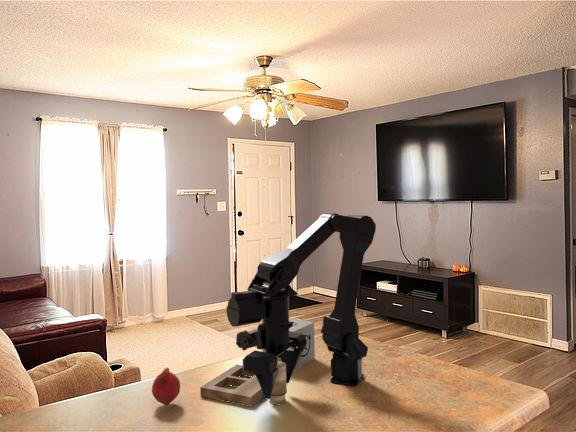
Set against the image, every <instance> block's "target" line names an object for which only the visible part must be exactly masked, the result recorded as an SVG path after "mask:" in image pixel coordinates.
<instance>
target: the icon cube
mask: <svg viewBox="0 0 576 432" xmlns="http://www.w3.org/2000/svg"><path fill="white" fill-rule="evenodd" d="M289 321H292V322H293V326H292V327H291V328H289V332H291V333H300V334H303V335H304V336H305V337H306V347H304V348H303V349H304V350H303V352H302V354H301V356H300V358H299V360H298V363H297V365H296V367H295V370H294V372H295V371H297V370H298V369H300V368H301V367H303V366H304V365H307V364H308V363H310V362H311V361H313V360H315V359H316V356H315V355H316V354H315V353H316V352H315V351H316V349H315V348H316V347H315V322H313V321H308V320H302V319H301V320H300V319H296V318H295V319H294V318H289ZM262 352H266V351H265V349H262ZM277 359H278V361H281V357H280V356H278V357H277Z"/></svg>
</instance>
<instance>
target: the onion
mask: <svg viewBox="0 0 576 432" xmlns="http://www.w3.org/2000/svg"><path fill="white" fill-rule="evenodd" d="M180 390H181V382H180V379H179V377H178V376H177V375H176V374H174V373H173V372H171V371H170V368H169V367H167V366H166V367H164V369H163V370H162V372H161V373H160V374H159V373H158V375H157V376H156V378H155V379H154V381H153V383H152V386H151V392H152V393H151V394H152V396H153V397H154V399H155V400H156V401H157V402H158V403H161V404H162V405H164V406H169V405H170V404H171V403H172V402H173V401H175V399H176V398H177V397H178V396H179V394H180V392H181V391H180Z"/></svg>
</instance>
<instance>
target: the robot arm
mask: <svg viewBox="0 0 576 432" xmlns="http://www.w3.org/2000/svg"><path fill="white" fill-rule="evenodd" d="M376 229H377V226H376V222H375V221H374V219H373V218H372V217H371V216H370V215H361V214H359V215H358V214H356V215H353V214H348V215H341V214H338V213H336V212H335V213H334V212H333V213H332V212H331V213H330V212H329V213H328V212H327V213H326V212H324V213H323V214H321V215H320V216H319V217H318V218H317V220H316V221H314V222H313V224H311V225H310V226H309V227H308V228H307V229H306V230H304V232H303V233H302V234H300V236H298V237H297V238H296V239H295V240H294V241H293V242H291V244H289V245H287V247H286V248H284V249H282V250H280V251H277V252H275V253H273V254H271V255H269V256H268V257H266V258H264V259H262V260H261V262H259V264H257V267H256V268H257V270H256V273H255V275H254V277H253V279H252V280H251V282H250V283H249V286H248V287H247V288H246V289H247V290H246V291H232V292H231V293H230V298H229V300H228V301H227V306H226V317H227V320H228V322H229V324H230V325H231V327H233V328H235V327H241V326H246V325H252V324H256V323H259V324H258V325H257V328H255V329H252V330H249V331H248V330H246V329H245V330H243V331H240V332H238V333H236V339H235V340H236V341H235V345H236V346H237V347H238V348H239V349H241V351H247V350H248V349H251V348H254V347H255V348H256V349H257V350H253V351H251V352H250V353H248V354H247V355H245V357H244V358H242V365H243V370H247V371H248V372H252V373H253V374H255V376H256V377H257V379H258V381H259V384H260V387H261V389H262V392H263V395H264V396H263V398H264V399H266V400H270V397H271V394H272V391H273V387H274V383H275V379H276V376H277V372H278V368H276V367H277V364H278V359H277V357H278V356H280V357H281V362H284V363H286V384H289V383H290V382H291V379H292V377H293V374H294V372H295V371H296V370H295V367H296V365H297V363H298V360H299V358H300V356H301V354H302V352H303V350H304V349H303V348H304V347H306V337H305V336H304V335H303V334H300V333H291V332H289V328H291V327H292V326H293V322H292V321H289V319H290V306H289V305H290V300H289V299H290V297H294V296H295V297H297V296H298V292H297V291H296V290H295V289H293V288H292V286H291V283H293V281H294V280H295V278H296V277H297V275H299V271H300V269H301V265H302V264H303V263H304V262H305V261H306V260H307V259H308V258H309V257H310V256H311V255H312V254H313V253H314V252H315V251H317V250H318V248H320V247H321V245H323V244H324V243H325V242H326V241H327V240H328V239H330V237H331V236H333V234H334V233H339V240H340V244H341V246H342V250H343V252H342V257H341V263H340V270H339V277H338V282H337V289H336V295H335V302H334V306H333V310H332V312H331V313H330V314H329V316H328V315H324V316H323V318H322V328H321V330H320V333H321V335H322V336H321V337H322V341H323V342H324V343H325V345H326V347H327V350H328V352H332V358H331V359H330V376H331V378H330V379H329V380H330V382H331V383H337V384H343V385H349V386H354V387H355V386H358V385H359V383H360V382H361V381H362V380H363V378H364V377H365V374H364V373H363V372H362V371H363V367H362V360H363V358H366V357H367V355H368V352H369V351H368V350H369V347H368V346H367V345H366V344H365V343H364V342H363V341H362V340H361V339H360V338H359V335H360V334H359V333H360V331H359V330H360V327H359V324H358V320H357V317H356V308H357V307H356V306H357V300H358V294H359V287H360V283H361V276H362V268H363V263H364V256H365V253H366V252H367V250H369V248H370V246H371V245H372V243H373V240H374V238H375V235H376V234H375V233H376ZM261 321H262V322H261ZM260 322H261V323H260ZM263 349H265V351H266V352H263ZM260 350H262V351H260ZM294 370H295V371H294Z"/></svg>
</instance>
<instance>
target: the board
mask: <svg viewBox="0 0 576 432" xmlns="http://www.w3.org/2000/svg"><path fill="white" fill-rule="evenodd" d="M240 375H247V376H246V377H245V378H244V377H242V376H240ZM239 376H240V377H239ZM248 376H252V377H249V378H247V377H248ZM226 385H227V386H228V385H232V386H231V387H233V386H239V387H235V388H234V389H232V388H226V387H227V386H226ZM200 397H204V398H209V399H214V400H217V399H218V401H222V400H223V402H227V401H229V402H228V403H232V402H234V403H233V404H237V403H239V404H238V405H241V404H244V405H243V406H246V405H248V406H247V407H252V406H253V405H255V404H256V403H257V402H258V401H260V400H261V399H262V398H264V395H263V392H262V389H261V387H260V384H259V381H258V379H257V377H256V376H255V374H253V373H252V372H248V371H247V370H243V364H235V365H234V366H232V367H230V368H229V369H227V370H226V371H224V372H222V373H221V374H219V375H218V376H216V377H214V378H213V379H211V380H209V381H208V382H206V383H205V384H202V386H200ZM261 397H262V398H261ZM260 398H261V399H260Z"/></svg>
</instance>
